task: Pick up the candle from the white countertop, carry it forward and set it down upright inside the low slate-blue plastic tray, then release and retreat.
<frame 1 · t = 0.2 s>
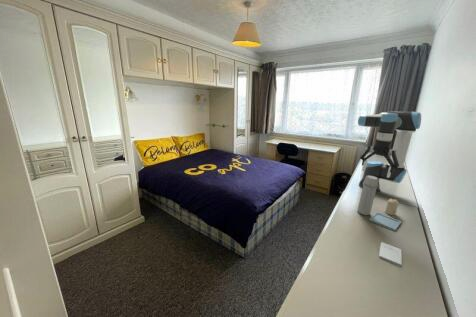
hand: (375, 173, 120), 27 cm above the table, fingers open, 13 cm apart
external hard drive: (389, 255, 92), on the table
tray: (384, 221, 117), on the table
water bottle: (363, 213, 126), on the table
candle: (390, 213, 127), on the table
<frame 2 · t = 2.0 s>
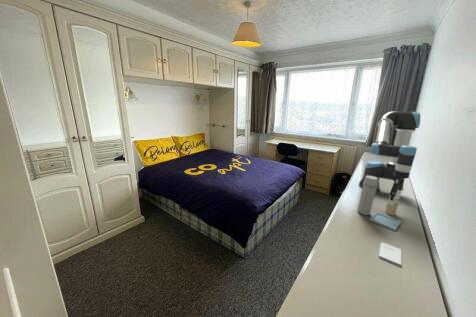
hand: (393, 201, 125), 9 cm above the table, fingers open, 13 cm apart
nothing on the table moved.
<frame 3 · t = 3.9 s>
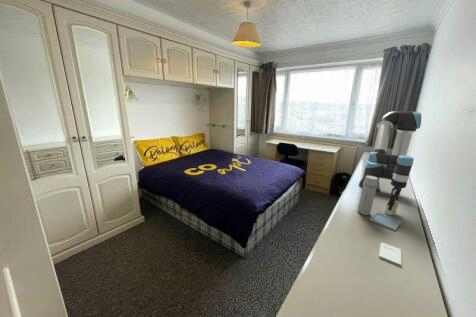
hand: (390, 212, 127), 0 cm above the table, fingers closed on candle, 5 cm apart
candle: (390, 213, 127), on the table, touching gripper
everything else where it was.
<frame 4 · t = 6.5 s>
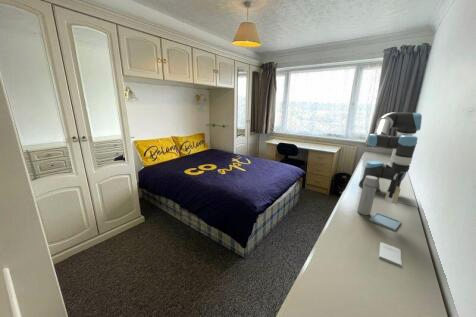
hand: (390, 200, 113), 14 cm above the table, fingers closed on candle, 5 cm apart
candle: (390, 201, 113), point 14 cm above the table, touching gripper
everything else where it was.
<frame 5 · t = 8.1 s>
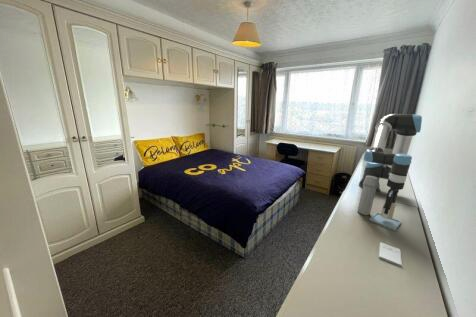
hand: (386, 216, 116), 4 cm above the table, fingers closed on candle, 5 cm apart
candle: (386, 217, 116), point 3 cm above the table, touching gripper
everything else where it was.
when the fingers open (2 cm above the table, at t = 9.2 s): candle drops 1 cm, resting on tray.
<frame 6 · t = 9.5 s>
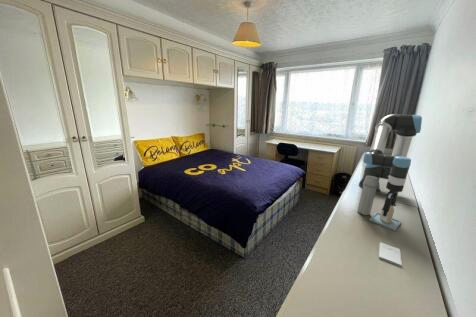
hand: (386, 217, 117), 3 cm above the table, fingers open, 9 cm apart
candle: (385, 221, 117), resting on tray
everything else where it was.
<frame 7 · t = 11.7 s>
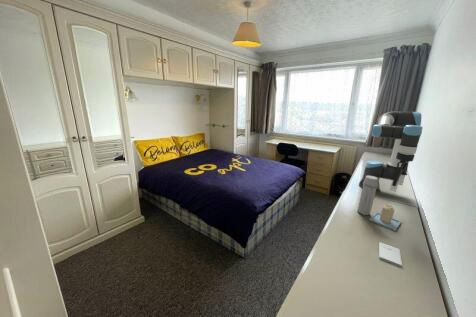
hand: (396, 187, 114), 22 cm above the table, fingers open, 13 cm apart
nothing on the table moved.
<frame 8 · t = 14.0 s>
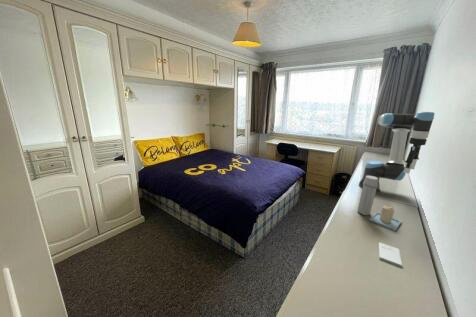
hand: (408, 170, 123), 29 cm above the table, fingers open, 13 cm apart
nothing on the table moved.
at the end: candle inside the target area on the tray (0.2 cm from its centre), point 0.4 cm above the tray's base; candle tilted 0°; the gripper is holding nothing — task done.
